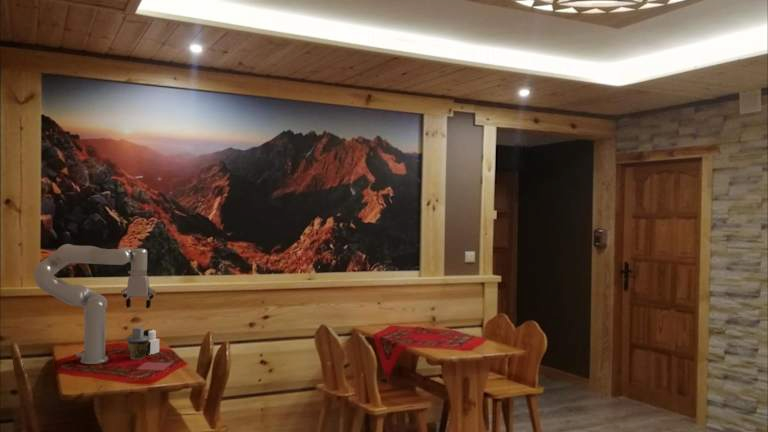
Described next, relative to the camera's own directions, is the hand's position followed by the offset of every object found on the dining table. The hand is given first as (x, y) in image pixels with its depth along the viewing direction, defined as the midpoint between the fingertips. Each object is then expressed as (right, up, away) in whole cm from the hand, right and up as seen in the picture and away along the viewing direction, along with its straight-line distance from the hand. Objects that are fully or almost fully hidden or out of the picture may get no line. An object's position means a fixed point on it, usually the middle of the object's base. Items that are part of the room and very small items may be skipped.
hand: (138, 307), depth 338 cm
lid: (0, -16, +1) cm, 16 cm away
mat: (+12, -27, -12) cm, 32 cm away
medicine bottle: (0, -26, +15) cm, 30 cm away
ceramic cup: (-1, -26, +1) cm, 26 cm away
